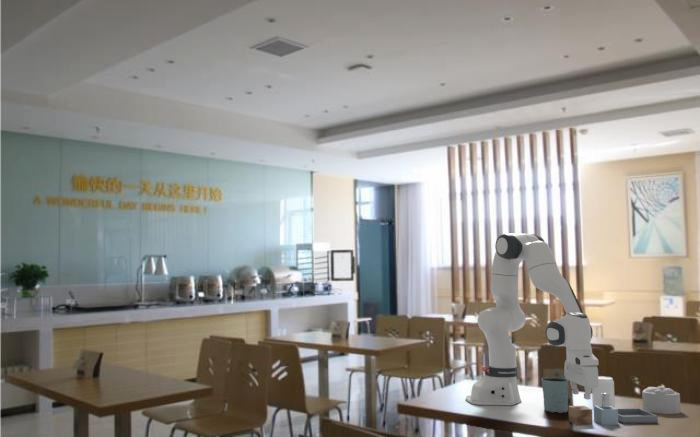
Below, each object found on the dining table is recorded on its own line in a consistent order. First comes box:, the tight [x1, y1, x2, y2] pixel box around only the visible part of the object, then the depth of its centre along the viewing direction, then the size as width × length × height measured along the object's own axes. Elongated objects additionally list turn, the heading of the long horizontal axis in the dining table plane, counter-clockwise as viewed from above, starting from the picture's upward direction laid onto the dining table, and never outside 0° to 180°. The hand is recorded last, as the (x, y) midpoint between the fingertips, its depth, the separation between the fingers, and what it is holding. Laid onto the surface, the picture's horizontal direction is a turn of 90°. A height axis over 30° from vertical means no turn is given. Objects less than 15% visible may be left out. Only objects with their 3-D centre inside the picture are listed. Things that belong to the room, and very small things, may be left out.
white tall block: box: [591, 375, 616, 408], centre depth 247 cm, size 8×8×12 cm
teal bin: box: [541, 376, 569, 414], centre depth 245 cm, size 10×10×12 cm
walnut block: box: [568, 405, 593, 426], centre depth 225 cm, size 6×6×6 cm
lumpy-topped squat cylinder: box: [641, 386, 681, 415], centre depth 244 cm, size 10×13×9 cm
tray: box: [617, 407, 659, 425], centre depth 230 cm, size 13×12×2 cm
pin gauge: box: [602, 393, 610, 409], centre depth 226 cm, size 3×3×9 cm
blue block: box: [593, 406, 619, 426], centre depth 226 cm, size 6×6×6 cm
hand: (581, 396), depth 225 cm, fingers open, 8 cm apart
